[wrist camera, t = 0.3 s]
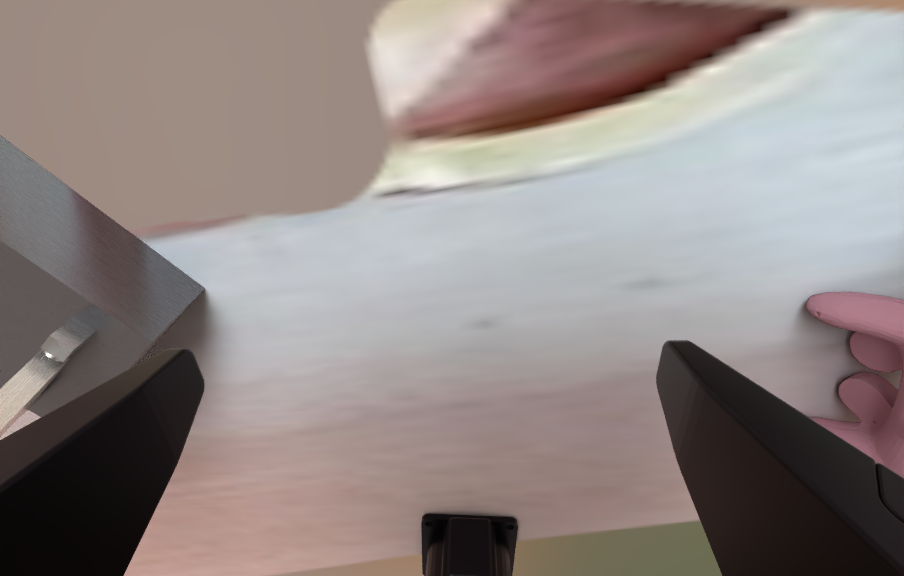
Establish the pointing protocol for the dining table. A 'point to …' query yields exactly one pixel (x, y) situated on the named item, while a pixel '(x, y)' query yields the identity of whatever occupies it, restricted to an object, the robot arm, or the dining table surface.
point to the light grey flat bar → (27, 387)
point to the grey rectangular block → (75, 285)
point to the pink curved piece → (868, 395)
